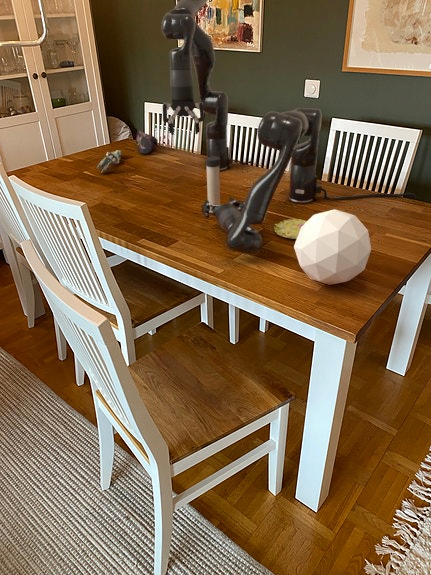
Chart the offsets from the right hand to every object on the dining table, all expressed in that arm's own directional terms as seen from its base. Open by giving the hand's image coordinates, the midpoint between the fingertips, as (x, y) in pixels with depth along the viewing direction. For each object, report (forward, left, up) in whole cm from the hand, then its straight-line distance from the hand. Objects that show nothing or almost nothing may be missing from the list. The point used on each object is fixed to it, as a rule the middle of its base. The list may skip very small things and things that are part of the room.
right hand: (218, 201), depth 156 cm
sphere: (-19, +49, -6) cm, 53 cm away
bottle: (0, -7, -6) cm, 10 cm away
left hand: (+8, -16, +20) cm, 27 cm away
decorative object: (-23, +20, -6) cm, 31 cm away
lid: (0, -7, +13) cm, 15 cm away
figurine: (+36, -75, -6) cm, 84 cm away
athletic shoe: (+15, -96, -6) cm, 98 cm away
